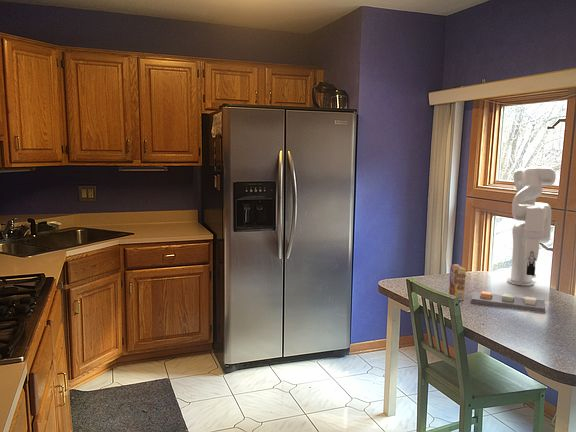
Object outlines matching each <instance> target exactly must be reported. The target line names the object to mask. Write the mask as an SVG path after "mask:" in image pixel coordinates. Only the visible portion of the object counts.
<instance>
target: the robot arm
mask: <svg viewBox="0 0 576 432" xmlns="http://www.w3.org/2000/svg"><path fill="white" fill-rule="evenodd" d="M556 179H557V178H556V171H555V169H554V168H552V167H549V166H548V167H547V166H529V167H526V168H525V167H524V168H518V169H516V170H514V171H513V183H514V186H515V189H516V194H515V195H514V197H513V198H512V204H511V213H512V218H513V219H514V220H516V221H518V222H519V221H522V222H521V223H516V224H514V225H513V226H512V257H511V258H512V259H511V269H510V270H511V271H510V272H511V273H510V277H508V278H507V283H509V284H512V285H515V286H523V287H529V286H530V287H531V286H534V285H535V281H534V280H532V279H533V278H536V277H537V275H536V262H537V261H538V257H539V253H540V252H539V250H540V244H546V243H548V242H549V241H550V239H551V231H552V228H551V227H552V208H551V206H550V205H549V203H545V202H536V199H538V198H539V197H540V196H541V195H542V194H543V186H546V187H547V186H552V185H554V184H555V181H556Z"/></svg>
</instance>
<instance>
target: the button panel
mask: <svg viewBox="0 0 576 432" xmlns="http://www.w3.org/2000/svg"><path fill="white" fill-rule="evenodd" d="M481 292H482V291H481ZM481 292H479V291H473V293H472V294H471V299H470V303H471V304H477V305H483V306H484V305H485V306H489V307H490V306H491V307H498V308H503V309H504V308H507V309H513V310H518V311H519V310H520V311H527V312H535V313H543V314H546V303H545V302H546V301H545V300H541V299H536V304H535V305H532V304H524V298H525V297H518V296H513V302H509V301H502V296H503V294H494V293H492V298H491V299H487V298H481Z"/></svg>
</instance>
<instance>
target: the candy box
mask: <svg viewBox="0 0 576 432" xmlns="http://www.w3.org/2000/svg"><path fill="white" fill-rule="evenodd" d="M449 270H450V271H449V285H448V295H449V294H451V295H454V296H456V297H458V298H459V300H460V302H461V301H464V300H465V299H464V297H465V289H466V288H465V285H466V274H467V269H466V268H465V267H463V266H461V265H460V264H455V263H454V264H450V269H449Z"/></svg>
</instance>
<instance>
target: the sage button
mask: <svg viewBox="0 0 576 432" xmlns="http://www.w3.org/2000/svg"><path fill="white" fill-rule="evenodd" d="M502 295H503V296H502V301H509V302H513V297H514V294H509V293H502Z"/></svg>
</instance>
